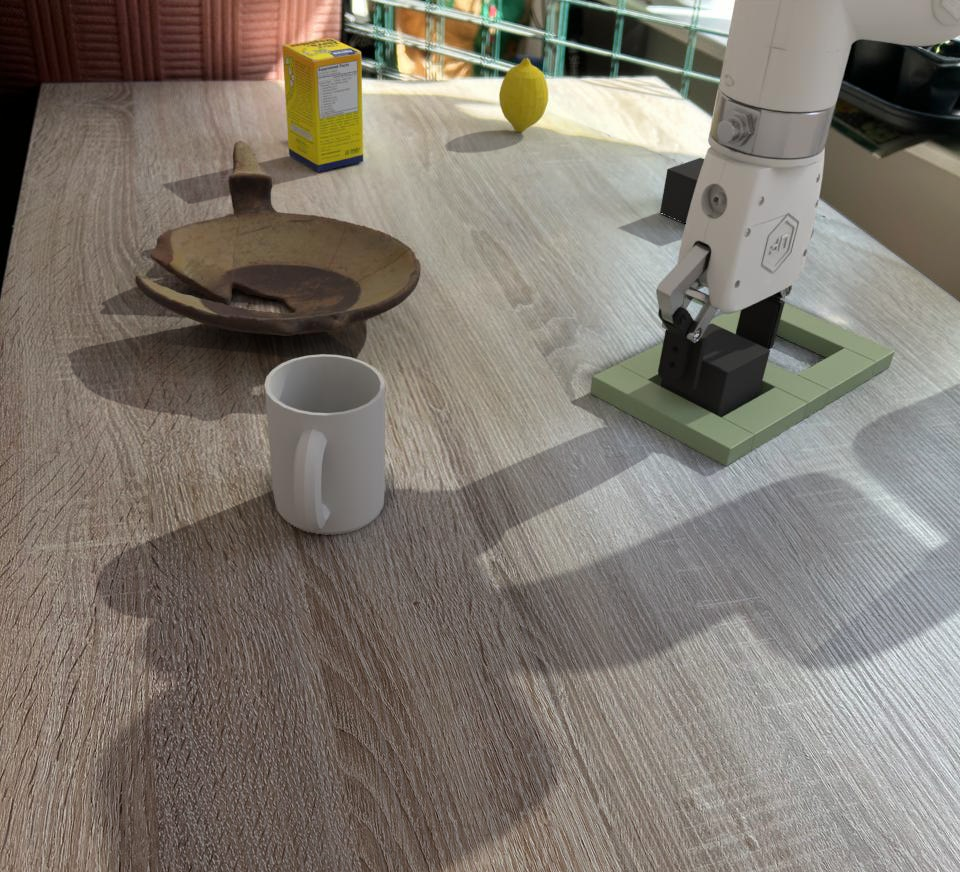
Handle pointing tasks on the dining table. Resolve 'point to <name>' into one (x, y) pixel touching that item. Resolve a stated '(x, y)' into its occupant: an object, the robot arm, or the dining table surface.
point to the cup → (327, 442)
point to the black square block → (680, 189)
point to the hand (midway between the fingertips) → (716, 362)
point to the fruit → (523, 95)
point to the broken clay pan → (280, 264)
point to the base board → (778, 397)
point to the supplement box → (323, 103)
